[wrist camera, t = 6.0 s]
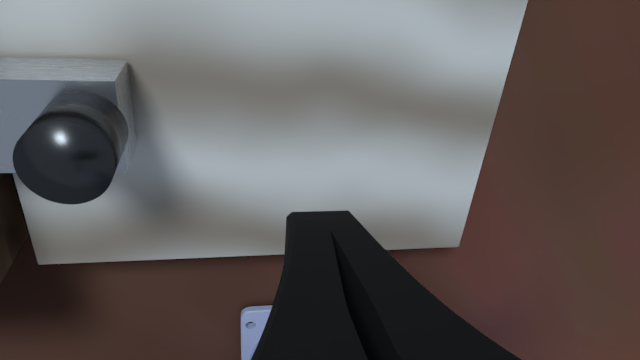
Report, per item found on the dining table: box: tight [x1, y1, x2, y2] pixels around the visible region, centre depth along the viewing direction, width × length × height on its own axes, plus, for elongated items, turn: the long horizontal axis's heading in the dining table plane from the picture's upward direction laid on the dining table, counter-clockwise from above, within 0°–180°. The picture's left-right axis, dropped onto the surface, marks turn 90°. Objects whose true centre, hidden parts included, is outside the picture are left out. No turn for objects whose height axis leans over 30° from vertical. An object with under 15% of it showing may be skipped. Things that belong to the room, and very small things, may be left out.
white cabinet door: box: [0, 0, 528, 284], centre depth 16 cm, size 14×25×6 cm, turn 85°
